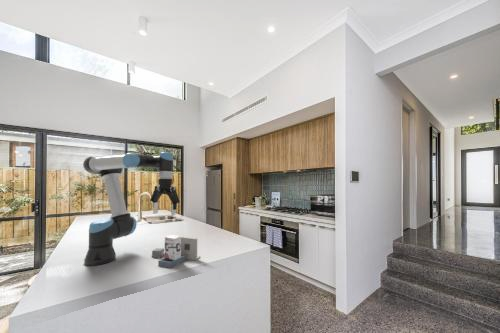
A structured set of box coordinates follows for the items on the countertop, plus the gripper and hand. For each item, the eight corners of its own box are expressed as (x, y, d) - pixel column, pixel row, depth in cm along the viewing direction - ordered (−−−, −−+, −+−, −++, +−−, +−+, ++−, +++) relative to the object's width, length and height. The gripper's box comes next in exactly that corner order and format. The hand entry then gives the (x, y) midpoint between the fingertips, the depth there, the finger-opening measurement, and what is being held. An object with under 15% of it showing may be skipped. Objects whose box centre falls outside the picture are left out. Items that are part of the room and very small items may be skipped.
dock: (158, 265, 119) (158, 260, 119) (174, 258, 131) (174, 253, 131) (170, 268, 116) (170, 262, 116) (186, 259, 127) (186, 254, 128)
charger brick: (152, 257, 132) (152, 250, 132) (156, 254, 137) (156, 248, 137) (160, 257, 131) (160, 251, 132) (165, 255, 136) (165, 248, 137)
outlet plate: (167, 256, 133) (167, 236, 134) (173, 253, 138) (173, 234, 139) (195, 260, 126) (195, 239, 127) (200, 257, 131) (200, 237, 132)
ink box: (163, 257, 123) (164, 236, 124) (171, 255, 127) (171, 234, 128) (174, 260, 119) (174, 238, 120) (181, 257, 123) (181, 236, 124)
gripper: (144, 177, 131) (143, 213, 130) (178, 178, 122) (176, 217, 121) (154, 177, 138) (153, 211, 137) (186, 178, 129) (185, 215, 128)
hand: (164, 214), depth 129 cm, fingers open, 13 cm apart
